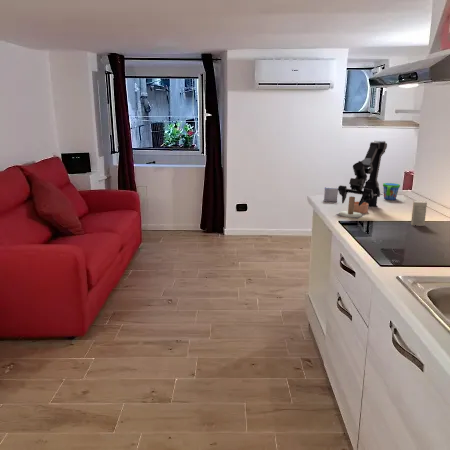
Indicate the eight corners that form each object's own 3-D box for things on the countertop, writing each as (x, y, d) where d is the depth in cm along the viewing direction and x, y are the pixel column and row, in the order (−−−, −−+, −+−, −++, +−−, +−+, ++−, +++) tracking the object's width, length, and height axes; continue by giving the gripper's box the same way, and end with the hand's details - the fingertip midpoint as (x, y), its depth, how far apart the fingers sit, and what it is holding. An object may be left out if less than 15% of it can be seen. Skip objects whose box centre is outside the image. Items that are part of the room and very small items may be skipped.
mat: (343, 212, 249) (343, 211, 249) (365, 215, 242) (365, 214, 242) (335, 216, 239) (335, 215, 239) (357, 219, 232) (357, 218, 232)
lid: (358, 212, 247) (360, 195, 244) (364, 217, 235) (366, 199, 232) (336, 212, 247) (338, 194, 244) (342, 217, 235) (343, 198, 232)
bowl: (364, 210, 256) (365, 201, 255) (369, 214, 246) (370, 205, 245) (347, 209, 256) (348, 201, 255) (352, 213, 246) (352, 204, 245)
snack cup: (385, 196, 300) (387, 181, 297) (401, 198, 294) (403, 183, 291) (377, 199, 288) (379, 184, 285) (393, 202, 282) (395, 186, 279)
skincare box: (423, 224, 226) (426, 201, 223) (424, 226, 222) (427, 203, 219) (410, 223, 228) (413, 200, 225) (410, 225, 224) (413, 201, 221)
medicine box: (336, 200, 282) (337, 187, 280) (337, 201, 278) (338, 188, 276) (323, 200, 283) (324, 186, 281) (324, 201, 278) (325, 188, 276)
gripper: (340, 170, 243) (331, 193, 237) (374, 174, 233) (365, 197, 227) (344, 183, 252) (335, 205, 246) (377, 187, 241) (368, 210, 235)
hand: (350, 204), depth 238 cm, fingers open, 9 cm apart
